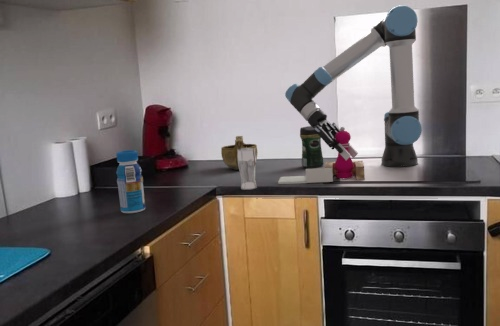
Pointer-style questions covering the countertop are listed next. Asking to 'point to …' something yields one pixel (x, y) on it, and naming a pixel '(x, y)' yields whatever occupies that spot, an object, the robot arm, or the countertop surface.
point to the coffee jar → (311, 148)
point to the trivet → (292, 180)
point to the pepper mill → (342, 164)
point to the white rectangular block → (319, 175)
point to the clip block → (357, 169)
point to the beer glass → (247, 168)
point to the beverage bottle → (130, 182)
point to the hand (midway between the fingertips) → (352, 156)
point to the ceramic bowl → (235, 152)
